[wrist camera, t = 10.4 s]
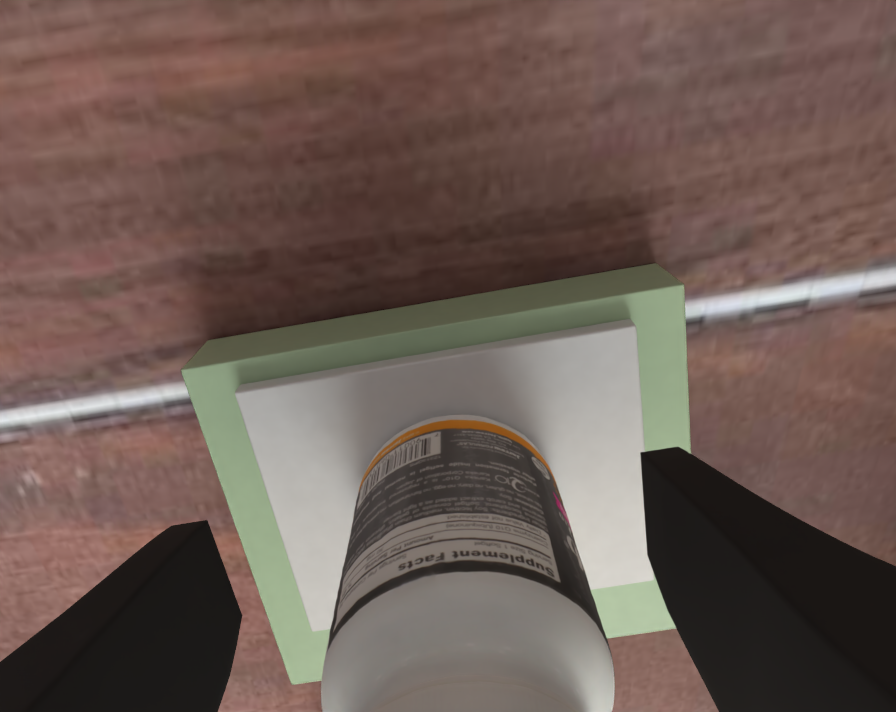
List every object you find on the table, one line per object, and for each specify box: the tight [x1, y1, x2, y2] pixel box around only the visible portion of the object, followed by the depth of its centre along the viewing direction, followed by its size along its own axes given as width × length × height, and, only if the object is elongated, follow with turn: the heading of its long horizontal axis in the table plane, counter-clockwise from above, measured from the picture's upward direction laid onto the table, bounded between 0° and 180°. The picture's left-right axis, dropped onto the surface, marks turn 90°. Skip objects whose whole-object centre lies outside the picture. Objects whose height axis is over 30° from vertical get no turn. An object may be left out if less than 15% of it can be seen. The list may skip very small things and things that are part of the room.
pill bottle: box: [321, 415, 615, 712], centre depth 15 cm, size 6×6×10 cm
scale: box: [181, 263, 691, 685], centre depth 21 cm, size 14×12×3 cm
